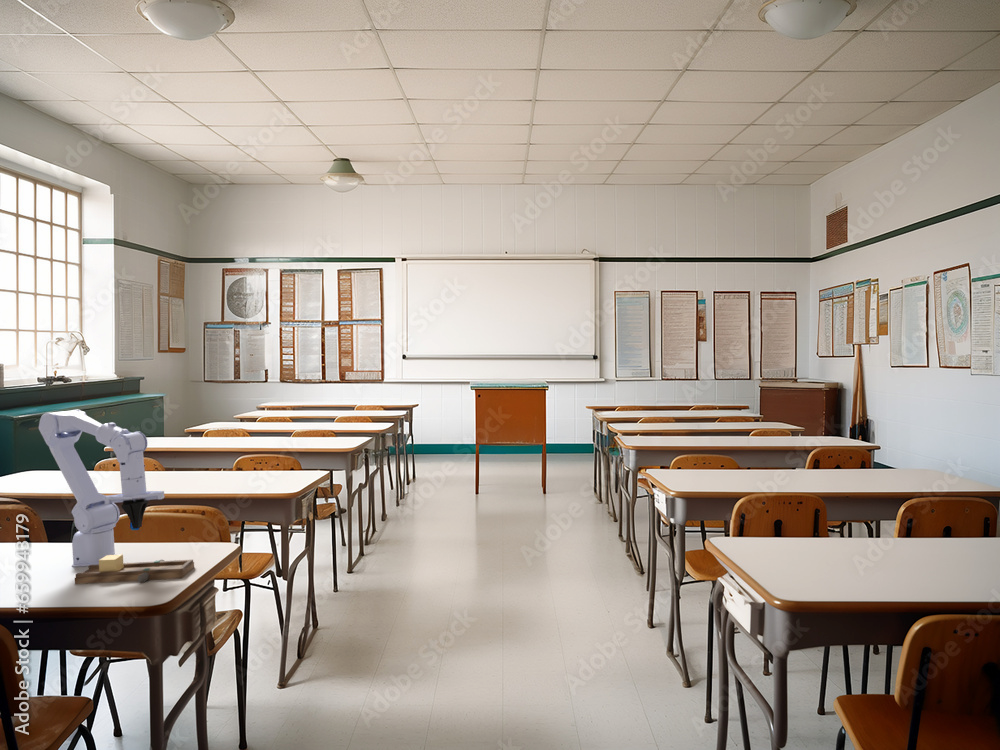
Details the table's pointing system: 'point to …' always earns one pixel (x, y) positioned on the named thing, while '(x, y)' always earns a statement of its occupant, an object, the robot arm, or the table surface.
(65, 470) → the robot arm
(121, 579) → the balance beam
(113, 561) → the block
